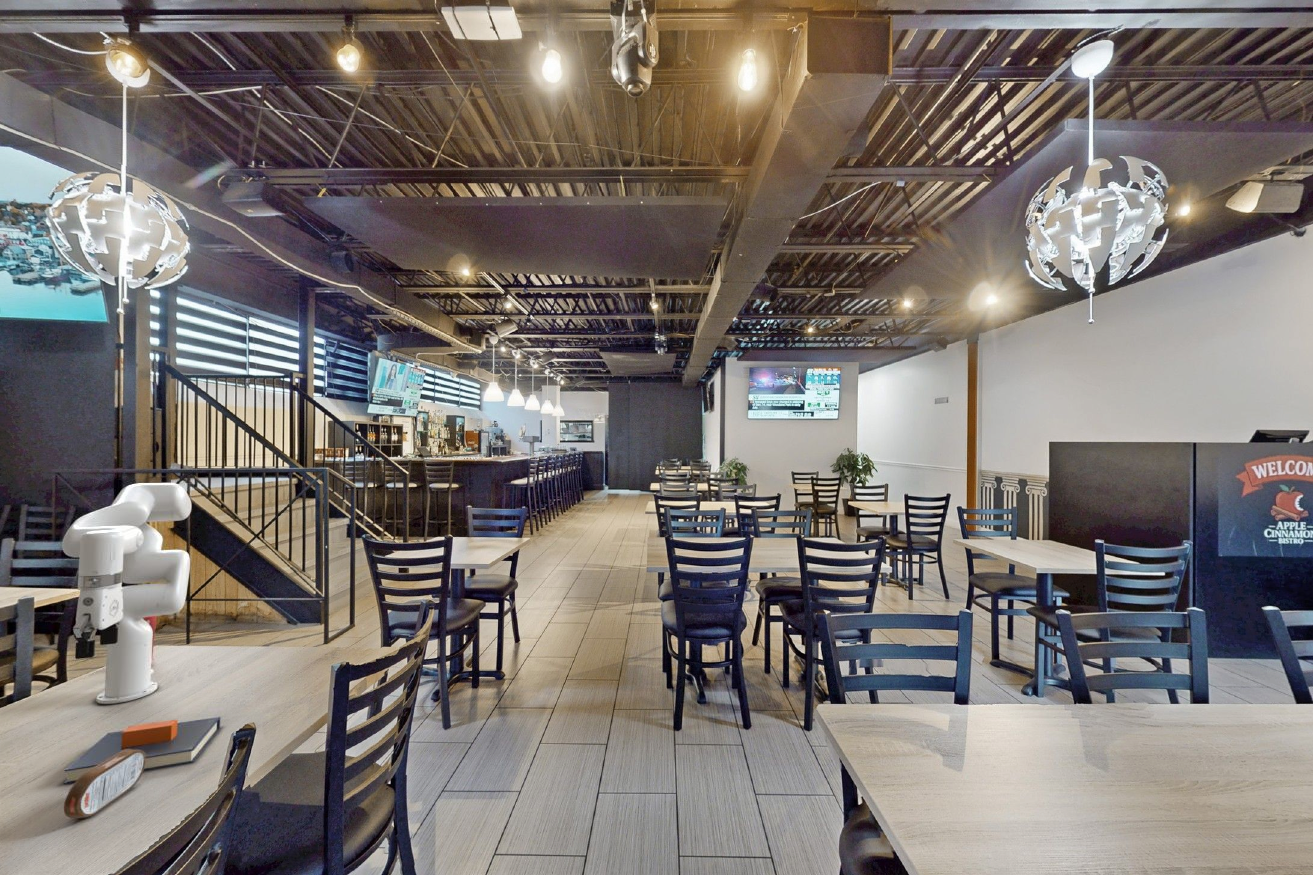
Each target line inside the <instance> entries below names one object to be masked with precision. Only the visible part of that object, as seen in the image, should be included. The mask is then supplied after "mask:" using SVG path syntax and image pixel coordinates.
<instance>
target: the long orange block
mask: <svg viewBox="0 0 1313 875" xmlns="http://www.w3.org/2000/svg"><path fill="white" fill-rule="evenodd" d="M177 723H178V719H171V720H164V721H158V722H149V723H144V724H137V725H130V726H127V727H126V728H125V729H124V730H122V731H123V732H122V747H121V748H127V747H133V746H139V745H146V744H152V743H159V742H165V741H171V740H172V739H173V738H174V737H175V736H176V735H177Z"/></svg>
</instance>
